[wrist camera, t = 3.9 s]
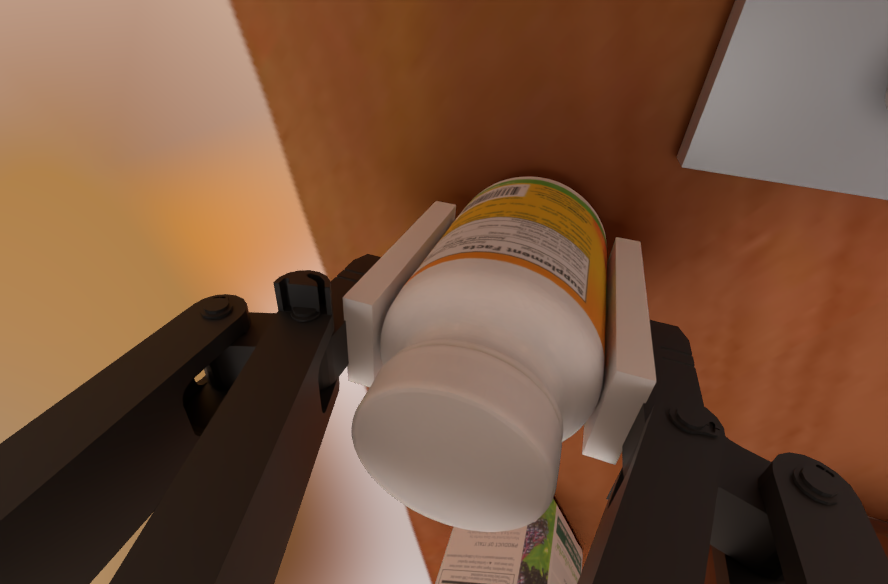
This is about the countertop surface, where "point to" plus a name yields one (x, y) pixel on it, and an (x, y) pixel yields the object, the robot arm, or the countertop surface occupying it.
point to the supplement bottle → (490, 359)
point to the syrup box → (514, 554)
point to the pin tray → (797, 97)
